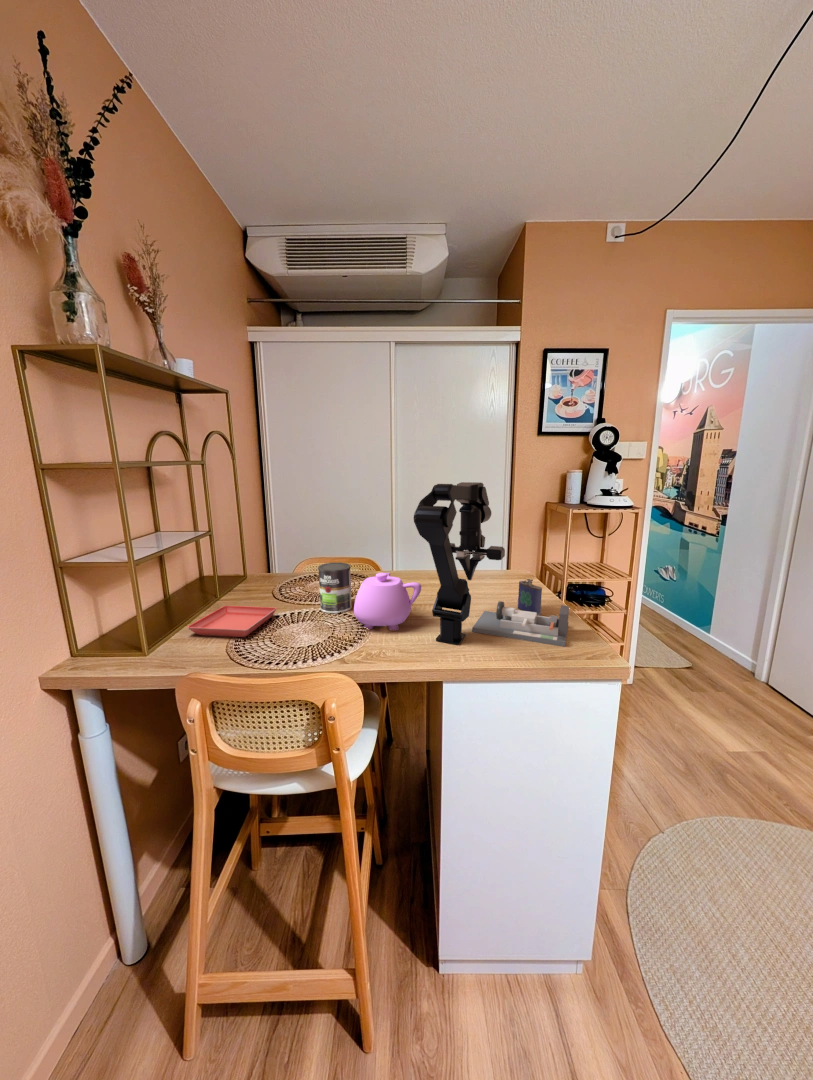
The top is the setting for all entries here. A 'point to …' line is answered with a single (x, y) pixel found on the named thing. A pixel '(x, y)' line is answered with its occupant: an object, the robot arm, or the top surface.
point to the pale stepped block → (516, 614)
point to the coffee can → (335, 587)
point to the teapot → (384, 601)
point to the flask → (529, 597)
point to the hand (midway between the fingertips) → (469, 579)
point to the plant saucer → (232, 621)
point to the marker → (553, 622)
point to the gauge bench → (525, 628)
